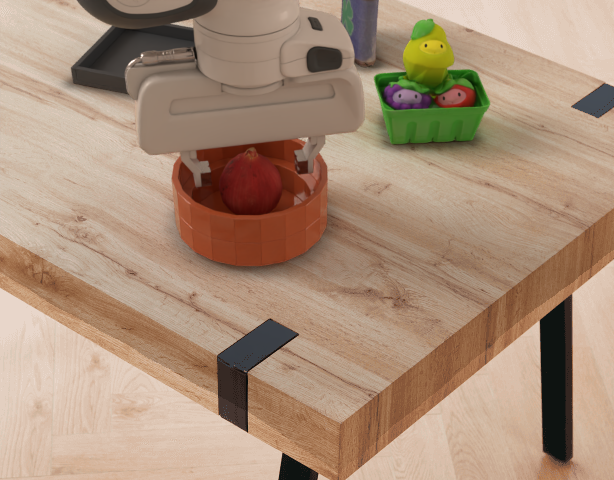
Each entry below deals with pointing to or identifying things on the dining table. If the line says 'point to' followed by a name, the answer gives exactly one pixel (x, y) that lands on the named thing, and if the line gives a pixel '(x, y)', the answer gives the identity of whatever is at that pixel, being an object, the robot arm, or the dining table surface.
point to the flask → (361, 28)
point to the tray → (125, 53)
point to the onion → (250, 184)
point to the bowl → (252, 228)
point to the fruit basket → (430, 92)
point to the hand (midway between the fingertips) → (253, 176)
